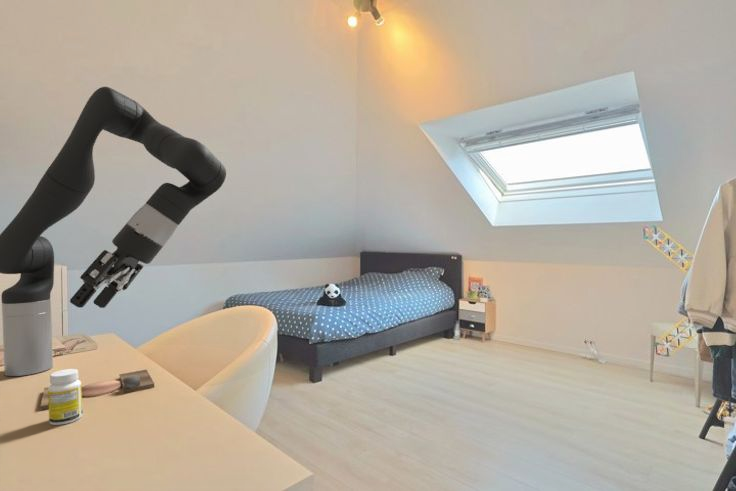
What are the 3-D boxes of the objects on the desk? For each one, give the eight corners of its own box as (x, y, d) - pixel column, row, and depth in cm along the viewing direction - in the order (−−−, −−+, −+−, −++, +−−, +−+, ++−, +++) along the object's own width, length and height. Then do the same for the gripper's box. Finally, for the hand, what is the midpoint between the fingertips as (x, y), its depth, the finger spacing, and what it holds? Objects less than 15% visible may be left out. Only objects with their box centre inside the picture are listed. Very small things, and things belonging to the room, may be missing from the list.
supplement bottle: (61, 414, 74) (59, 368, 74) (88, 413, 75) (86, 367, 75) (42, 426, 70) (40, 377, 70) (71, 425, 70) (70, 376, 70)
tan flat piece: (44, 391, 86) (44, 380, 86) (146, 372, 97) (146, 362, 97) (40, 410, 76) (40, 397, 76) (154, 387, 87) (154, 376, 87)
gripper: (142, 229, 85) (88, 295, 81) (113, 213, 71) (46, 292, 67) (173, 250, 85) (120, 316, 82) (151, 238, 72) (86, 317, 68)
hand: (87, 305), depth 74 cm, fingers open, 8 cm apart
